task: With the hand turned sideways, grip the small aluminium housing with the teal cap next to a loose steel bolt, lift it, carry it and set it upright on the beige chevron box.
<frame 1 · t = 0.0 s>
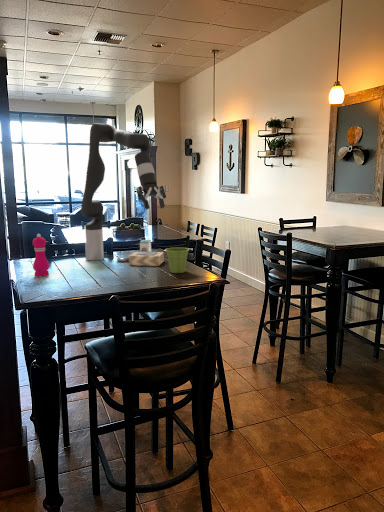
hand: (155, 208, 189), 31 cm above the table, tool tilted 20°, fingers open, 8 cm apart
bolt: (123, 261, 228), on the table
plant pot: (177, 272, 202), on the table
housing: (145, 258, 238), on the table
beige chevron box: (147, 262, 224), on the table
pepper mill: (41, 276, 196), on the table
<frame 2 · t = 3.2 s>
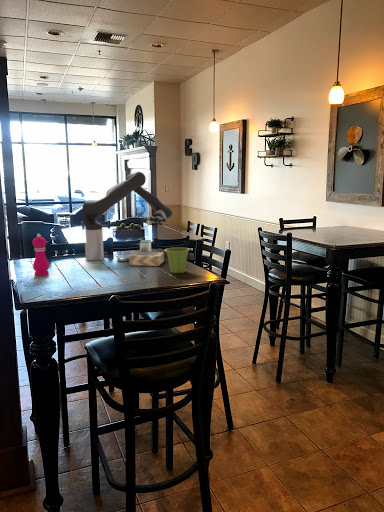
hand: (151, 221, 247), 20 cm above the table, tool horizontal, fingers open, 8 cm apart
nothing on the table moved.
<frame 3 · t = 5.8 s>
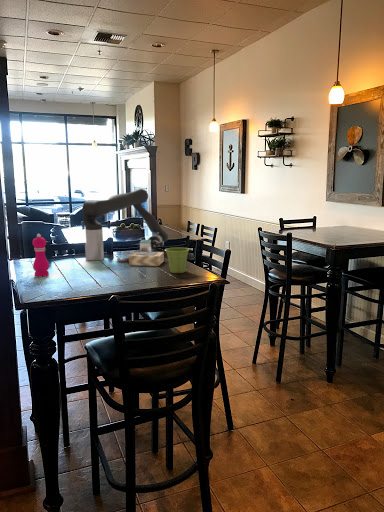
hand: (149, 245, 246), 6 cm above the table, tool horizontal, fingers open, 8 cm apart
nothing on the table moved.
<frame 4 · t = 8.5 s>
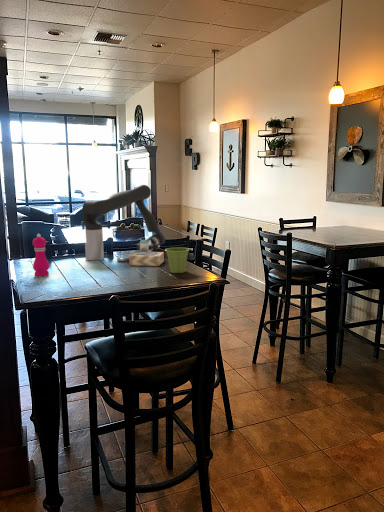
hand: (144, 248, 235), 6 cm above the table, tool horizontal, fingers closed on housing, 5 cm apart
housing: (145, 258, 238), on the table, touching gripper
everything else where it was.
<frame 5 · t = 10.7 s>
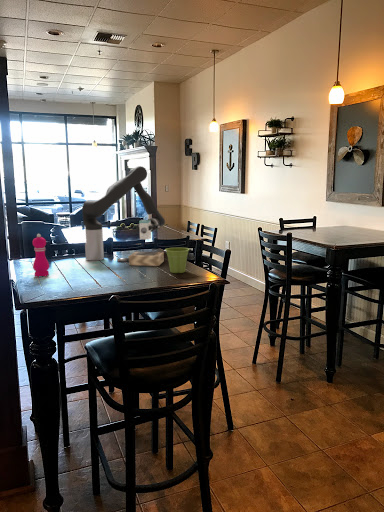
hand: (144, 228, 229), 18 cm above the table, tool horizontal, fingers closed on housing, 5 cm apart
housing: (145, 238, 233), point 12 cm above the table, touching gripper
everything else where it was.
when the fingers open (13 cm above the table, at t = 13.1 s): housing drops 1 cm, resting on beige chevron box.
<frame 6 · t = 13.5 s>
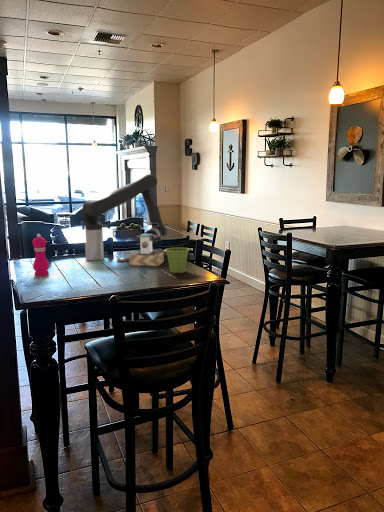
hand: (145, 239, 220), 13 cm above the table, tool horizontal, fingers open, 8 cm apart
housing: (146, 253, 223), point 5 cm above the table, touching beige chevron box
everything else where it was.
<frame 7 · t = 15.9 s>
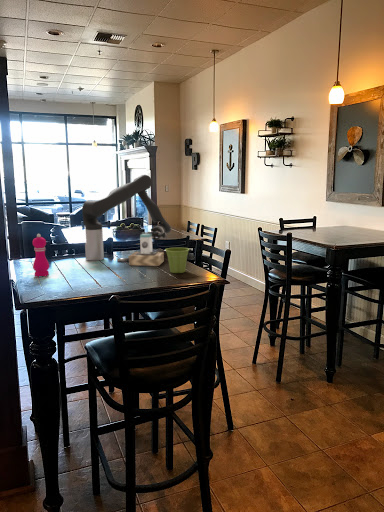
hand: (150, 236, 232), 13 cm above the table, tool horizontal, fingers open, 8 cm apart
nothing on the table moved.
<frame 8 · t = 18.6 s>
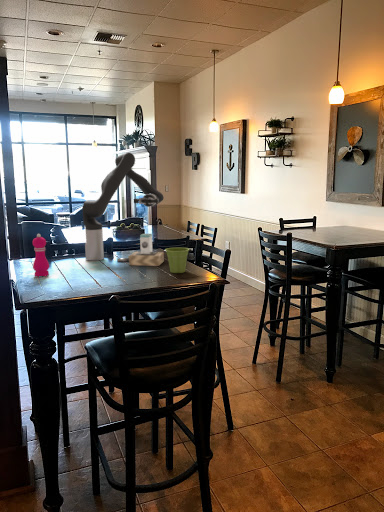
hand: (143, 201, 239), 32 cm above the table, tool horizontal, fingers open, 8 cm apart
nothing on the table moved.
at the end: housing inside the target area on the beige chevron box (0.1 cm from its centre), point 5.4 cm above the beige chevron box's base; housing tilted 0°; the gripper is holding nothing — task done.
